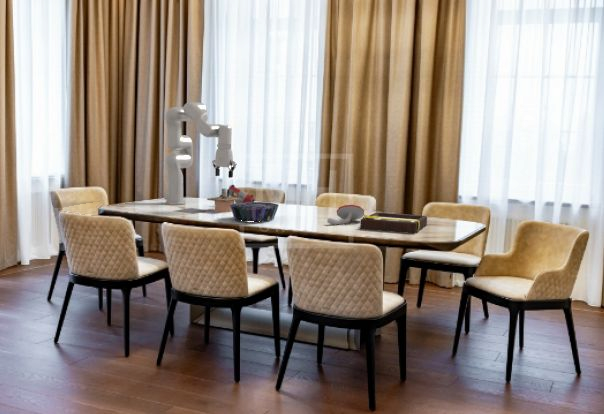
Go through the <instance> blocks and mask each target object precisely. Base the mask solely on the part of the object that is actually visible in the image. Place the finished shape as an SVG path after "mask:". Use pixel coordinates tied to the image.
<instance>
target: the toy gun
mask: <svg viewBox="0 0 604 414" xmlns="http://www.w3.org/2000/svg"><path fill="white" fill-rule="evenodd" d="M235 194H237V195H235ZM218 197H222V194H220V195H219V196H218ZM227 197H234V198H241V200H236V201H234V203H245V202H256V199H255V196H254V195H253V194H249V193H247V192H246V191H243V190H242V189H239V188H238V187H236V186H235V185H234V184H231V185H229V187H228V188H227Z"/></svg>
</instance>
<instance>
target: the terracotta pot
mask: <svg viewBox="0 0 604 414" xmlns="http://www.w3.org/2000/svg"><path fill="white" fill-rule="evenodd" d="M233 203H235V201H230V202H221V201H214V212H216V213H232V210H231V208H230V205H231V204H233Z"/></svg>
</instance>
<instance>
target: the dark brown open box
mask: <svg viewBox="0 0 604 414" xmlns="http://www.w3.org/2000/svg"><path fill="white" fill-rule="evenodd" d="M427 225H428V216H427V215H419V214H407V213H405V214H404V213H394V212H379V211H377V212H374V213H372V214H368V215H367V214H364V215H363V217H362V218H360V224H359V226H360V230H366V229H369V230H370V231H378V230H381V232H390V231H395V232H394V233H402V232H408V233H407V234H414V233H416V234H417V233H418V232H420V231H421V230H422V229H424V228H425V227H427ZM369 230H368V231H369Z"/></svg>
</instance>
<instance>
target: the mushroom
mask: <svg viewBox="0 0 604 414" xmlns="http://www.w3.org/2000/svg"><path fill="white" fill-rule="evenodd" d="M364 215H365V210H364V208H362V207H361V206H360V205H355V204H346V205H345V204H343V206H339V207H338V208H337V210H336V216H338V217H339V218H334V217H327V221H326V222H327V223H328V224H330V225H333V226H337V225H336V224H339V225H344V224H349V223H350V222H351V221H356V220H361V219H363V217H364Z"/></svg>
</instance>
